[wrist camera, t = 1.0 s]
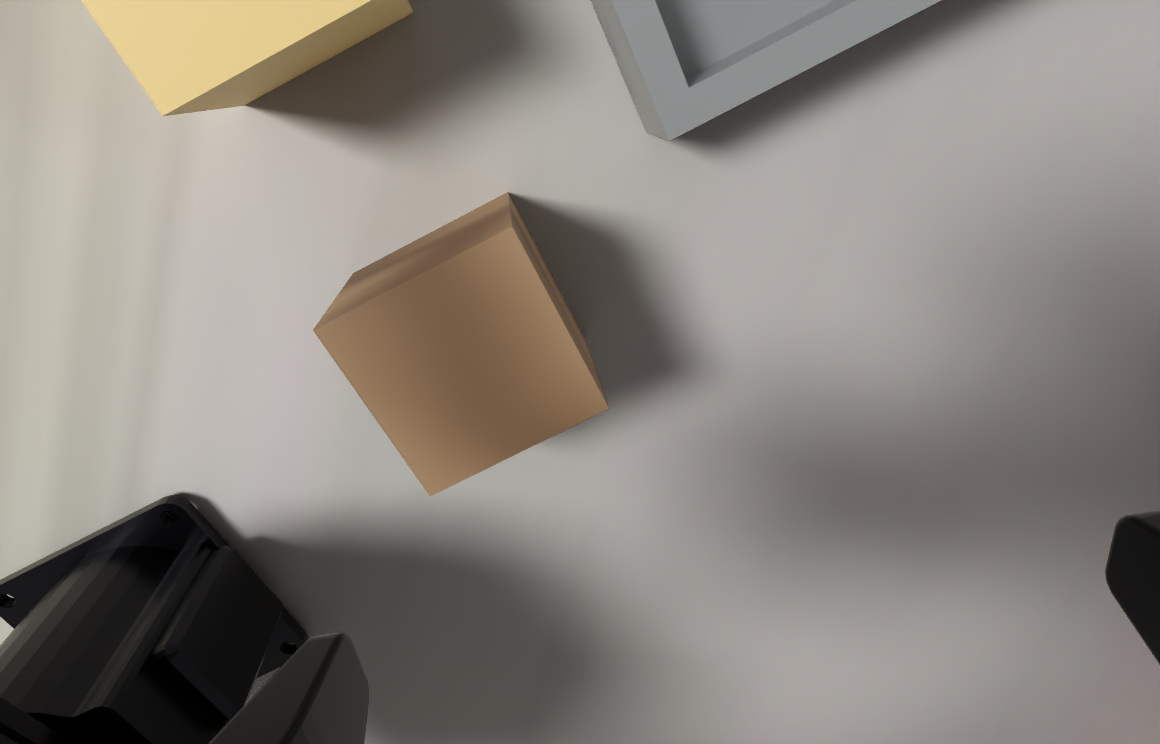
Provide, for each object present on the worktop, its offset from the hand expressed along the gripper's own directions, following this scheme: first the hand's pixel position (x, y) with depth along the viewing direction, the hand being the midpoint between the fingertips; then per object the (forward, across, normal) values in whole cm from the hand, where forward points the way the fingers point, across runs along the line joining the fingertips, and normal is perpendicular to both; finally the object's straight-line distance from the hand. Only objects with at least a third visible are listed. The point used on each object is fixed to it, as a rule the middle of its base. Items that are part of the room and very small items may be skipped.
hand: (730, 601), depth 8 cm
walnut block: (+12, +4, 0) cm, 12 cm away
